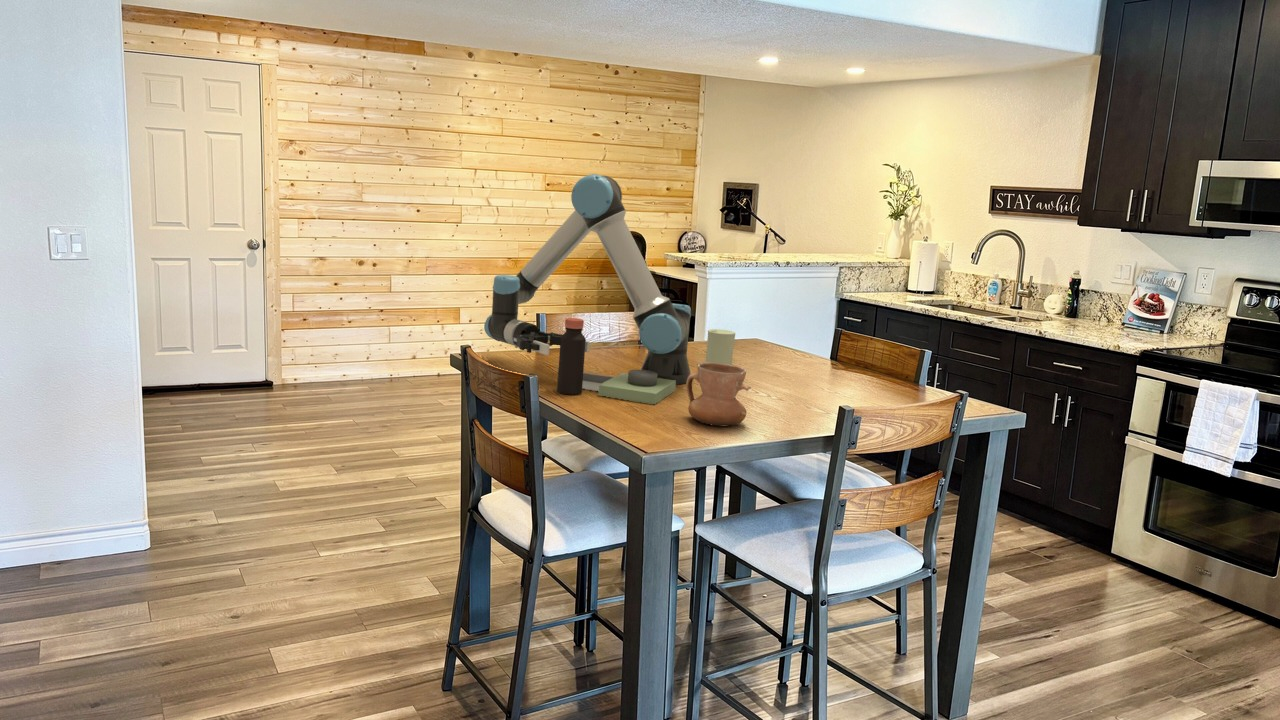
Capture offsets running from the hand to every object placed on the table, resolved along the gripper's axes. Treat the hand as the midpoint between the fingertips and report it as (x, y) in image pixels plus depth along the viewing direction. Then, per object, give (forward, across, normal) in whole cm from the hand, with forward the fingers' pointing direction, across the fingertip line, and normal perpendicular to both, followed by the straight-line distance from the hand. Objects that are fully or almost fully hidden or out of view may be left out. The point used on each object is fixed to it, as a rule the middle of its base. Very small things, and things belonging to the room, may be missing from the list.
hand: (568, 348), depth 249 cm
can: (-11, -72, -12) cm, 74 cm away
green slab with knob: (+4, -15, -12) cm, 20 cm away
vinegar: (+1, 0, -12) cm, 12 cm away
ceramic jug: (+41, -16, -12) cm, 45 cm away
